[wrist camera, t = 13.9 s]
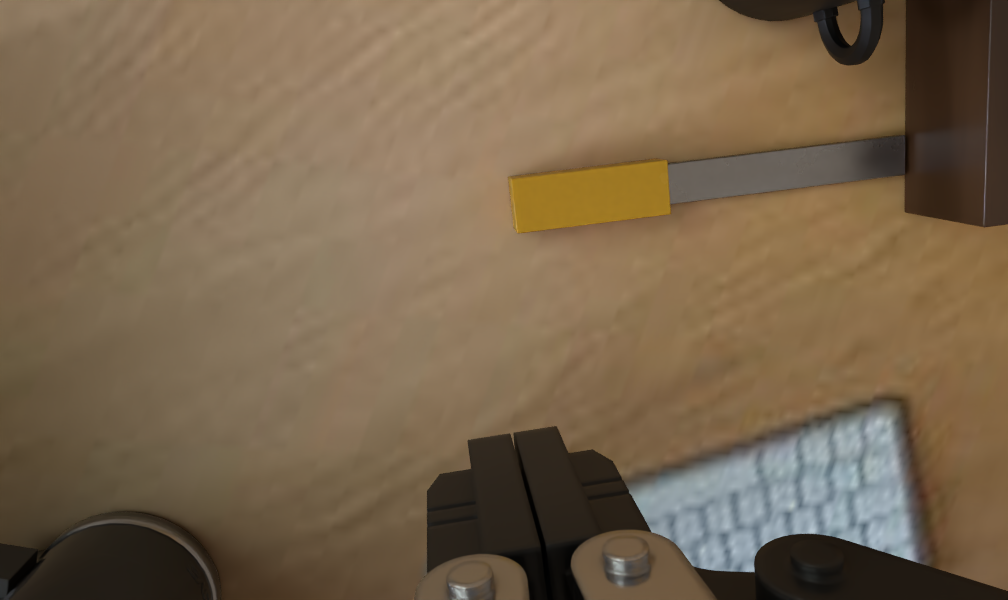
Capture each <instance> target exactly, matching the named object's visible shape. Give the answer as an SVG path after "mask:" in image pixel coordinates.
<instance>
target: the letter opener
mask: <svg viewBox="0 0 1008 600" xmlns="http://www.w3.org/2000/svg"><path fill="white" fill-rule="evenodd" d="M900 175H905V135H894V136H886V137H877V138H869V139H861V140H853V141H845V142H837V143H828V144H820V145H812V146H804V147H796V148H788V149H779V150H771V151H763V152H755V153H747V154H739V155H730V156H722V157H714V158H706V159H698V160H690V161H682V162H673V163H668V161H667V160H664V159H657V158H656V159H648V160H639V161H631V162H623V163H615V164H607V165H598V166H590V167H582V168H574V169H566V170H557V171H549V172H541V173H533V174H525V175H517V176H509V177H508V182H509V191H510V200H511V209H512V218H513V227H514V229H515V231H516V232H517V233H526V232H534V231H542V230H550V229H558V228H566V227H573V226H581V225H589V224H597V223H605V222H613V221H621V220H629V219H637V218H645V217H653V216H661V215H669V214H671V207H670V204H677V203H685V202H693V201H701V200H708V199H716V198H724V197H732V196H740V195H748V194H756V193H764V192H772V191H780V190H788V189H796V188H804V187H812V186H820V185H828V184H836V183H844V182H852V181H860V180H868V179H876V178H884V177H892V176H900Z"/></svg>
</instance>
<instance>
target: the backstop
mask: <svg viewBox="0 0 1008 600" xmlns="http://www.w3.org/2000/svg"><path fill="white" fill-rule="evenodd" d="M905 212H906V213H912V214H917V215H922V216H927V217H933V218H938V219H943V220H949V221H954V222H959V223H964V224H970V225H975V226H980V227H991V226H998V225H1006V224H1008V0H906V109H905Z"/></svg>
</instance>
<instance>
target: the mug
mask: <svg viewBox="0 0 1008 600" xmlns="http://www.w3.org/2000/svg"><path fill="white" fill-rule="evenodd" d="M720 1H721V2H722V3H723V4H725V5H726V6H728V7H729V8H731V9H733V10H734V11H736V12H738V13H740V14H743V15H745V16H748V17H751V18H755V19H760V20H767V21H783V20H790V19H795V18H800V17H804V16H807V15H810V14H813V16H814V22H817V24H818V28H819V32H820V36H821V39H822V41H823V43H824V45H825V47H826V49H827V51H828V53H829V54H830V55H831V56H832V57H833V58H834V59H835V60H836V61H837V62H838V63H840V64H843V65H858V64H861V63H863V62H865V61H866V60H868V59H869V58H870V56H871V55H872V53H873V51H874V50H875V48H876V46H877V44H878V41H879V39H880V35H881V31H882V26H883V4H884V3H885V0H720ZM854 1H857V4H858V10H860V14H861V23H860V31H859V35H858V37H857V39H856V41H855V43H854V44H853V45H852V46H851V45H849V44H848V43H847V42H846V41H845V39H844V38H843V36H842V34H841V32H840V30H839V27H838V24H837V20H836V16H838V9H837V6H841V5H844V4H848V3H851V2H854Z"/></svg>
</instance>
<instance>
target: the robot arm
mask: <svg viewBox="0 0 1008 600" xmlns="http://www.w3.org/2000/svg"><path fill="white" fill-rule="evenodd" d="M514 446H515V449H514ZM468 448H469V455H470V463H471V469H468V470H462V471H456V472H450V473H443V474H439V476H438V477H437V478H436V480H435V481H434V482H433V484H432V485H431V487H430V488H429V489H428V491H427V574H426V575H425V576H424V577H423V579H422V580H421V581H420V582H419V584H418V586H417V588H416V592H415V597H414V600H1008V591H1006V590H1002V589H999V588H996V587H993V586H990V585H986V584H983V583H980V582H977V581H974V580H971V579H967V578H964V577H961V576H958V575H955V574H951V573H948V572H945V571H942V570H939V569H936V568H932V567H929V566H926V565H923V564H920V563H916V562H913V561H910V560H907V559H904V558H901V557H897V556H894V555H891V554H888V553H885V552H881V551H878V550H875V549H872V548H869V547H866V546H862V545H859V544H856V543H853V542H850V541H846V540H843V539H840V538H836V537H832V536H826V535H819V534H795V535H788V536H783V537H780V538H777V539H774V540H772V541H770V542H768V543H766V544H765V545H764V546H762V547H761V548H760V550H759V551H758V552H757V554H756V556H755V561H754V568H755V572H729V571H713V570H706V569H701V568H697V567H693V566H692V565H691V563H690V562H689V561H688V559H687V558H686V557H685V555H684V554H683V553H682V551H681V550H680V549H679V547H678V546H677V545H676V544H675V543H673V542H672V541H671V540H669V539H667V538H665V537H663V536H661V535H658V534H656V533H652V532H651V530H650V528H649V526H648V525H647V523H646V521H645V519H644V517H643V516H642V514H641V512H640V510H639V508H638V506H637V505H636V503H635V501H634V499H633V497H632V496H631V494H629V490H628V488H627V486H626V485H625V483H624V481H623V480H622V478H621V475H620V474H619V472H618V470H617V468H616V466H615V465H614V463H613V461H611V460H610V459H608V458H606V457H605V456H603V455H601V454H600V453H598V452H596V451H594V450H586V451H580V452H574V453H568V451H567V449H566V447H565V444H564V442H563V440H562V437H561V435H560V433H559V430H558V428H557V426H553V427H547V428H540V429H534V430H528V431H521V432H515V433H514V445H513V442H512V438H511V434H510V433H509V434H503V435H497V436H490V437H484V438H477V439H471V440H468ZM0 600H221V587H220V581H219V577H218V573H217V570H216V568H215V565H214V563H213V562H212V560H211V558H210V556H209V555H208V553H207V552H206V550H205V549H204V548H203V547H202V545H201V544H200V543H199V542H198V541H197V540H196V539H195V538H194V537H192V536H191V535H190V534H189V533H188V532H186V531H185V530H183V529H182V528H180V527H178V526H177V525H175V524H173V523H171V522H169V521H167V520H164V519H162V518H159V517H156V516H152V515H148V514H143V513H137V512H112V513H105V514H100V515H97V516H93V517H90V518H88V519H85V520H83V521H81V522H79V523H77V524H75V525H73V526H72V527H70V528H68V529H67V530H66V531H65V532H63V533H62V534H61V535H60V536H59V537H58V538H57V539H56V540H55V541H54V542H53V543H52V544H51V545H50V546H49V547H48V548H47V549H46V550H43V551H38V549H33V548H26V547H20V546H14V545H7V544H1V543H0Z"/></svg>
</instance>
